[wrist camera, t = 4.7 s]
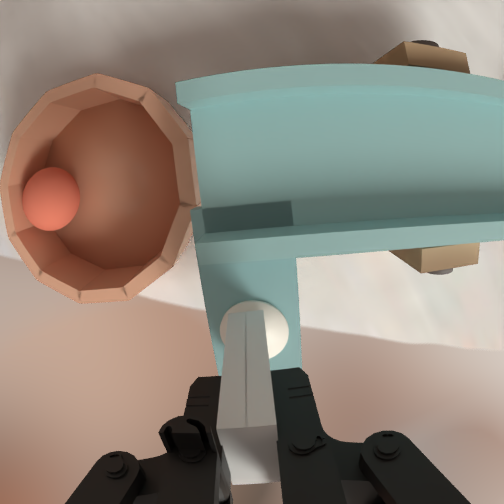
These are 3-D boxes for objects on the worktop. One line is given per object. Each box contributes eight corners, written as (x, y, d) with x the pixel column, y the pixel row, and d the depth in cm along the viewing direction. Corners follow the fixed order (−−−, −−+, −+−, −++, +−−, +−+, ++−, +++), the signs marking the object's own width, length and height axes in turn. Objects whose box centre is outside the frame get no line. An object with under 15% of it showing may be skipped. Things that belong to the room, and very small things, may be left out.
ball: (83, 161, 19) (34, 174, 18) (62, 160, 15) (7, 176, 14) (91, 219, 20) (43, 229, 19) (73, 230, 16) (18, 242, 15)
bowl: (32, 119, 18) (-6, 115, 13) (194, 74, 18) (180, 51, 13) (58, 282, 21) (26, 306, 17) (217, 266, 21) (209, 294, 17)
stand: (270, 76, 18) (288, 14, 9) (435, 81, 18) (521, 55, 9) (288, 247, 21) (317, 309, 12) (445, 230, 21) (530, 269, 12)
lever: (183, 97, 12) (153, 80, 9) (558, 108, 10) (596, 107, 7) (225, 379, 16) (213, 423, 13) (542, 330, 14) (570, 355, 10)
